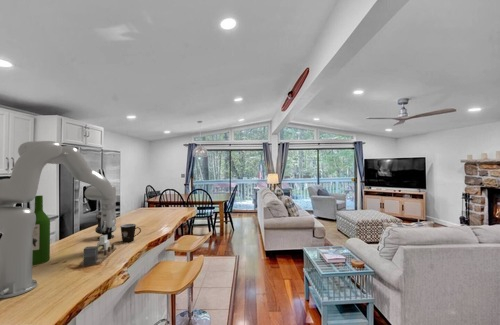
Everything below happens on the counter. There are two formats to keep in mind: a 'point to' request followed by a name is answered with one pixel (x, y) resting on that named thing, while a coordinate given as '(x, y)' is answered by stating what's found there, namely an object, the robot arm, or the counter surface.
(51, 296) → the counter surface
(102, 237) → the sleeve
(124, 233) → the coffee mug
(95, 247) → the pegged board
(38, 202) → the wine bottle
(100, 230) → the apothecary jar
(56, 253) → the counter surface
